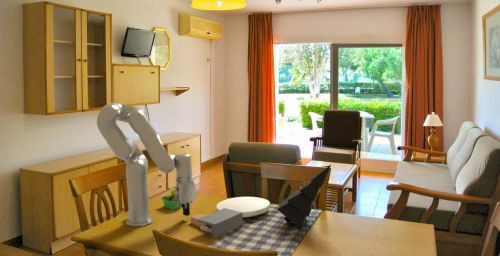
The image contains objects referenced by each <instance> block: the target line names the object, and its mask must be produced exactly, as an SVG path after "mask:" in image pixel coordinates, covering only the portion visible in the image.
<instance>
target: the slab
mask: <svg viewBox="0 0 500 256" xmlns="http://www.w3.org/2000/svg"><path fill="white" fill-rule="evenodd" d="M206 215H207V214H203V213H199V214H198V213H197V214H195V215H191V216H190V224H193V225H195V226H198V227H200V226H205V227H208V228H212V226H211V225H208V224H204V223H201V222H197V219H199V218H201V217H204V216H206Z"/></svg>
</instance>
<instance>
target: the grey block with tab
mask: <svg viewBox="0 0 500 256" xmlns="http://www.w3.org/2000/svg"><path fill="white" fill-rule="evenodd" d="M205 215H206V216H204V217H201V218H199V219H197V222H201V223H204V224H208V225H211V226H212V227H211V228H208V227H205V226H199V230H201V231H204V232H207V233H209V234H211V238H213V239H215V240H216V239H218V238H220V237H221V236H222V237H223V236H224V235H226V234H228V233H230V232H232V231H234V230H233V229H235V228H237V227H239V226H241V225H243V217H242V212H239V211H234V210H230V209H226V208H224V209H221V210H219V211H216V210H215V211H214V212H211V213H209V214H205ZM241 227H242V226H241ZM239 228H240V227H239ZM237 229H238V228H237ZM231 230H232V231H231ZM235 230H236V229H235ZM229 231H230V232H229Z"/></svg>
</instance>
